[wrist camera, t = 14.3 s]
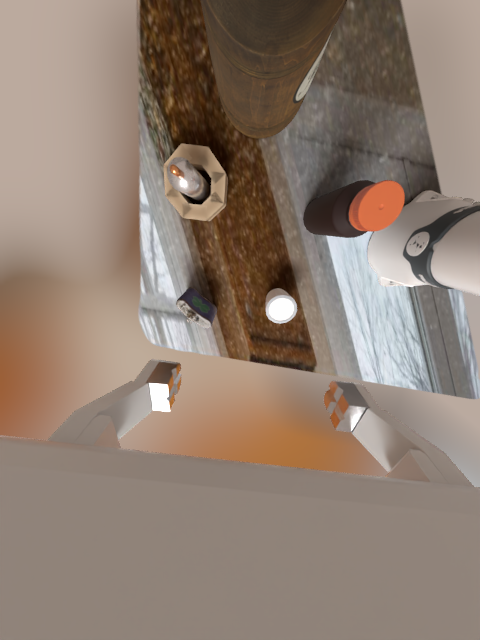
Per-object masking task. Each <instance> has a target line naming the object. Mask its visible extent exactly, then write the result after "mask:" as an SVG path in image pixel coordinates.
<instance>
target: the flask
mask: <svg viewBox="0 0 480 640" xmlns="http://www.w3.org/2000/svg"><path fill="white" fill-rule="evenodd" d="M176 305H177V307H178V308H179V309H180V310H181V311H182V313H183V314H184V315H186V316H187V317H188V318H189V320H190V321H193V322H195V323H196V324H198V325H200V326H201V327H204V328H206V329H207V328H210V327H211V326H212V322H213V320H214V317H215V315H216V312H217V307H216V306H215V305H214V304H212V303H211V302H210V301H209V300H208V299H207V298H204V297H203V296H202V295H201V294H199V292H198V291H197V290H196V289H195V288H189V289H187V290H186V292H185V293H184V294H183V295H182V296H181V297H180V298H179V299H178V300H177V303H176ZM189 320H188V319H187V322H188V323H189V322H190V321H189ZM190 323H191V322H190Z"/></svg>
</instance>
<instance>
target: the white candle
mask: <svg viewBox="0 0 480 640" xmlns="http://www.w3.org/2000/svg"><path fill="white" fill-rule="evenodd" d="M167 176H168V180H169V182H170V184H171V185H172V187H173V188H175V189H176V190H178V191H180V192H182V193H184V194H186V195H187V196H189V197H191V198H193V199H195V200H197V201H204V200H206V199H207V198H208V197H209V194H210V187H209V184H208V182H207V181H206V180H205V179H204V178H203V176H202V175H201V174H200V173H199V172H198V171H197V170H196V169H195V168H194V167H193V165H192V164H191V163H190V162H189V161H188V160H187V159H185V158H183V157H176V158H174V159H172V160H171V161H170V163H169V165H168V168H167Z"/></svg>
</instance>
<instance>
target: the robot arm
mask: <svg viewBox="0 0 480 640" xmlns="http://www.w3.org/2000/svg"><path fill="white" fill-rule="evenodd" d="M473 201H474V200H473V199H468V198H466V199H463V200H462V197H451V198H448V197H446V196H444V195H441V194H439V193H437V192H434V191H431V190H429V191H423V192H422V193H420V194H419V195H418V196H417V197H416V198H414V199H413V200H412V201H411V202H410V203H409V204H407V205H406V206H404V207H403V208H402V211H401V213H400V215H399V216H398V217H397V219H395V221H394V222H393V223H392V224H390V225H389V226H388V227H387V228H385V229H383V230H379V231H374V233H373V234H372V236H371V239H370V241H369V245H368V250H367V257H368V262H369V264H370V266H371V268H372V269H373V270H374V271H375V273H376V274H377V278H378V282H379V284H380V285H381V286H385V287H387V286H403V285H406V286H409V287H413V286H414V285H427V284H429V285H431V286H435V287H441V288H445V289H457V290H461V291H464V292H467V293H471V294H474V295H477V296H480V202H475V203H474V204H472V203H473ZM390 281H391V282H390ZM180 370H181V364H180V363H177V362H170V361H162V360H154V359H151V360H150V361H149V362H148V363H147V365H146V366H145V367H144V369H143V370H142V371H141V373H140V374H139V375H138V377H137V378H136V379H135V381H134V382H133V381H130V382H129V383H127V384H125V385H123V386H121V387H119V388H117V389H115V390H113V391H112V392H110V393H108V394H106V395H104V396H102V397H100V398H98V399H96V400H95V401H93V402H91V403H89V404H87V405H85V406H83V407H81V408H79V409H78V410H76V411H74V412H73V413H72V415H70V417H69V418H68V419H67V420H66V421H65V422H64V423H63V424H62V425H61V426H60V427H59V428H58V429H57V430H56V431H55V432H54V433H53V434H52V436H51V437H50V438H49V439H48V440H38V439H28V438H20V437H10V436H1V435H0V640H480V487H474V486H473V485H472V484H471V482H469V480H468V479H467V478H466V477H465V476H464V474H463V473H462V472H461V471H460V470H459V469H458V468H457V466H456V465H455V464H454V463H453V462H452V461H451V459H450V458H449V457H448V456H447V455H446V454H445V453H444V452H443V451H442V450H440V449H439V448H437V447H436V446H435V445H433V444H432V443H430V442H429V441H427V440H426V439H425V438H423V437H422V436H420V435H419V434H418V433H416V432H415V431H413V430H412V429H410V428H409V427H408V426H406V425H405V424H403V423H402V422H401V421H399V420H398V419H396V418H395V417H394V416H392V415H391V414H389V413H388V412H387V411H385V410H381V408H380V407H379V406H378V404H377V403H376V402H375V400H374V399H373V398H372V396H371V395H370V393H369V392H368V391H367V389H366V388H365V387H364V385H362V384H361V383H352V382H351V383H350V382H341V381H331V382H330V384H329V387H330V389H329V390H328V391H326V393H325V395H324V404H325V407H326V410H327V411H328V412H329V413H331V416H330V419H331V421H332V424H333V426H334V428H335V430H338V431H346V432H352V434H353V435H354V436H355V437H356V438H357V439H358V440H359V441H360V442H361V444H363V446H364V447H365V448H366V449H367V450H368V451H369V452H370V453H371V454H372V455H373V456H374V457H375V459H377V461H378V462H379V463H380V464H381V465H382V466H383V467H384V468H385V469H386V470H387V471H388V472H389V473H388V474H387V475H386V476H385V477H379V476H370V475H361V474H351V473H341V472H333V471H323V470H314V469H305V468H296V467H286V466H277V465H267V464H258V463H249V462H240V461H230V460H221V459H212V458H203V457H194V456H184V455H176V454H166V453H157V452H148V451H139V450H130V449H121V447H120V444H119V441H118V440H119V439H120V438H122V437H123V436H124V435H125V434H126V433H127V432H129V431H130V430H131V429H132V428H133V427H134V426H136V425H137V424H138V423H139V422H140V421H141V420H142V419H144V418H145V417H146V416H147V415H149V414H150V413H151V412H152V410H157V411H170V410H171V407H172V405H173V403H174V401H175V396H174V395H176V394H177V393H178V391H179V389H180V385H181V374H180V373H179V372H180Z"/></svg>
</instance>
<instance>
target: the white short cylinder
mask: <svg viewBox="0 0 480 640" xmlns="http://www.w3.org/2000/svg"><path fill="white" fill-rule="evenodd" d="M296 311H297V304H296V302H295V301H294V299H293V298H292V297H291V296H290V295H289V294H288V293H287V292H286V291H284V290H283V289H280V288H276V289H273V290H271V291H270V292H269V293H268V294H267V297H266V315H267V316H268V318H269V319H270V320H271V321H273V322H275V323H286V322H288V321H290V320H291V319H292V318H293V317H294V316H295V314H296Z"/></svg>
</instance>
